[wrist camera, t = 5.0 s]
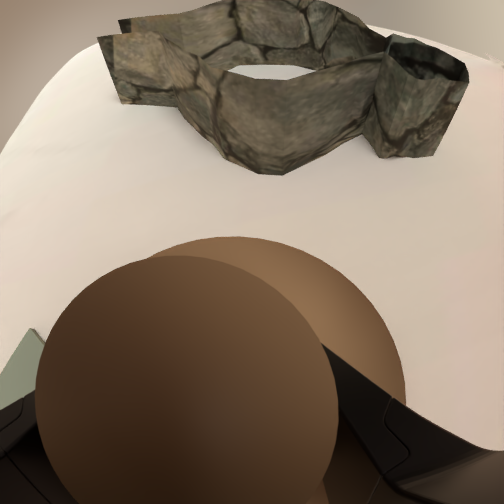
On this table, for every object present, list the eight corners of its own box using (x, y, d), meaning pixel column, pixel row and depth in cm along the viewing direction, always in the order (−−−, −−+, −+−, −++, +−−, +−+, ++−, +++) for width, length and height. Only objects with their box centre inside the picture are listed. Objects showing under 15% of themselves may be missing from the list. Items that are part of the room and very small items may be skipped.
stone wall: (426, 98, 32) (449, 34, 23) (443, 219, 25) (498, 143, 16) (162, 58, 37) (148, -2, 29) (88, 152, 30) (49, 81, 21)
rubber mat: (78, 569, 12) (74, 571, 11) (-32, 443, 16) (-36, 442, 16) (171, 463, 17) (168, 464, 17) (34, 329, 21) (29, 327, 21)
